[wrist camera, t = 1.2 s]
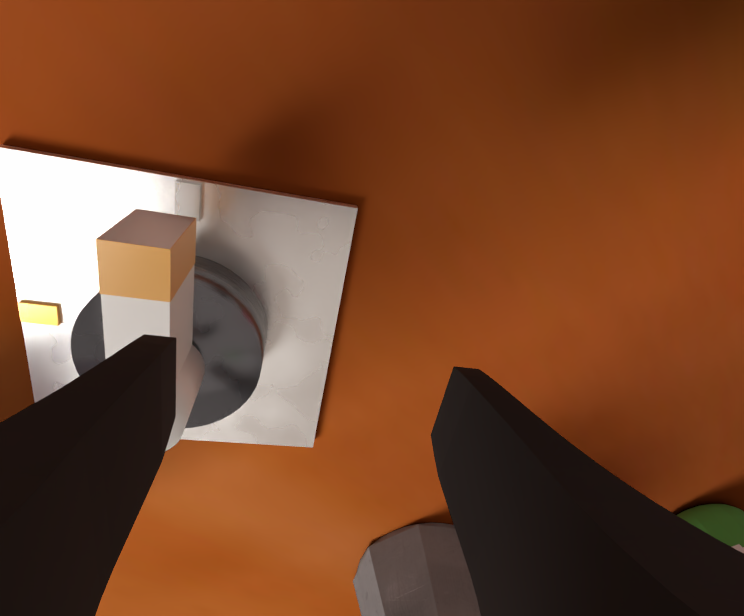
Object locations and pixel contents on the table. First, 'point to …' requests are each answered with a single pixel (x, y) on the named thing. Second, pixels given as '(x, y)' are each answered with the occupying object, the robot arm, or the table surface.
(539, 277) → the table surface
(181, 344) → the lever handle
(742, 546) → the wine bottle
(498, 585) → the robot arm
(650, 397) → the table surface
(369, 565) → the coffeepot
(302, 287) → the post base
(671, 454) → the table surface
